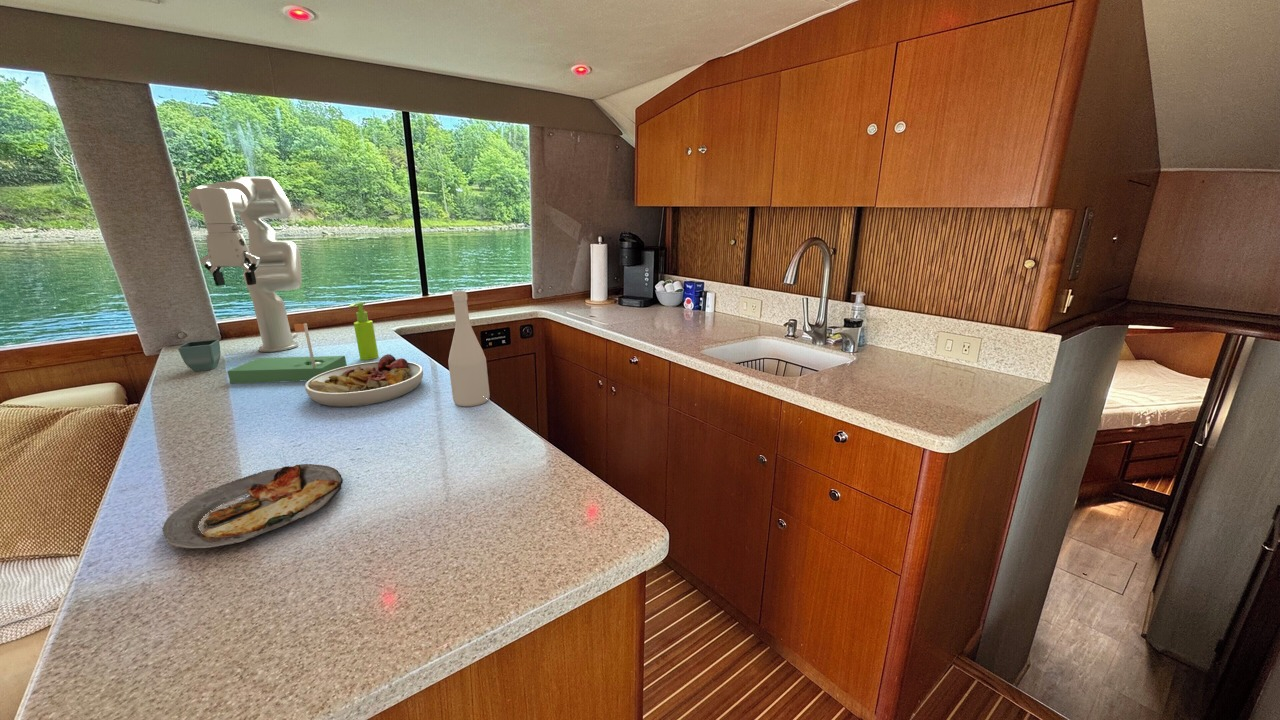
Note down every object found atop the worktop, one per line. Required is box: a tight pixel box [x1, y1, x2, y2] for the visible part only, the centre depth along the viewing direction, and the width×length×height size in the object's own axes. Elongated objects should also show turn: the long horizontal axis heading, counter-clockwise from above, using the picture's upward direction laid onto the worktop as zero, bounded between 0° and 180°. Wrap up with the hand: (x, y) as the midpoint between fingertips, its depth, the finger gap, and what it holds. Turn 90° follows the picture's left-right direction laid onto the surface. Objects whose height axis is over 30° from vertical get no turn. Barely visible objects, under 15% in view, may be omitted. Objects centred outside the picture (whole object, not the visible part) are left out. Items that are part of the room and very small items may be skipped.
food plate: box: [161, 463, 344, 549], centre depth 86 cm, size 25×23×4 cm
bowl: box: [304, 353, 424, 408], centre depth 144 cm, size 30×30×8 cm
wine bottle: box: [447, 290, 491, 408], centre depth 131 cm, size 10×10×30 cm
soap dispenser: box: [348, 301, 379, 361], centre depth 175 cm, size 6×7×20 cm
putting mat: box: [227, 323, 348, 384], centre depth 158 cm, size 14×28×18 cm, turn 93°
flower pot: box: [177, 339, 221, 372], centre depth 167 cm, size 9×9×9 cm
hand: (236, 284), depth 159 cm, fingers open, 9 cm apart
